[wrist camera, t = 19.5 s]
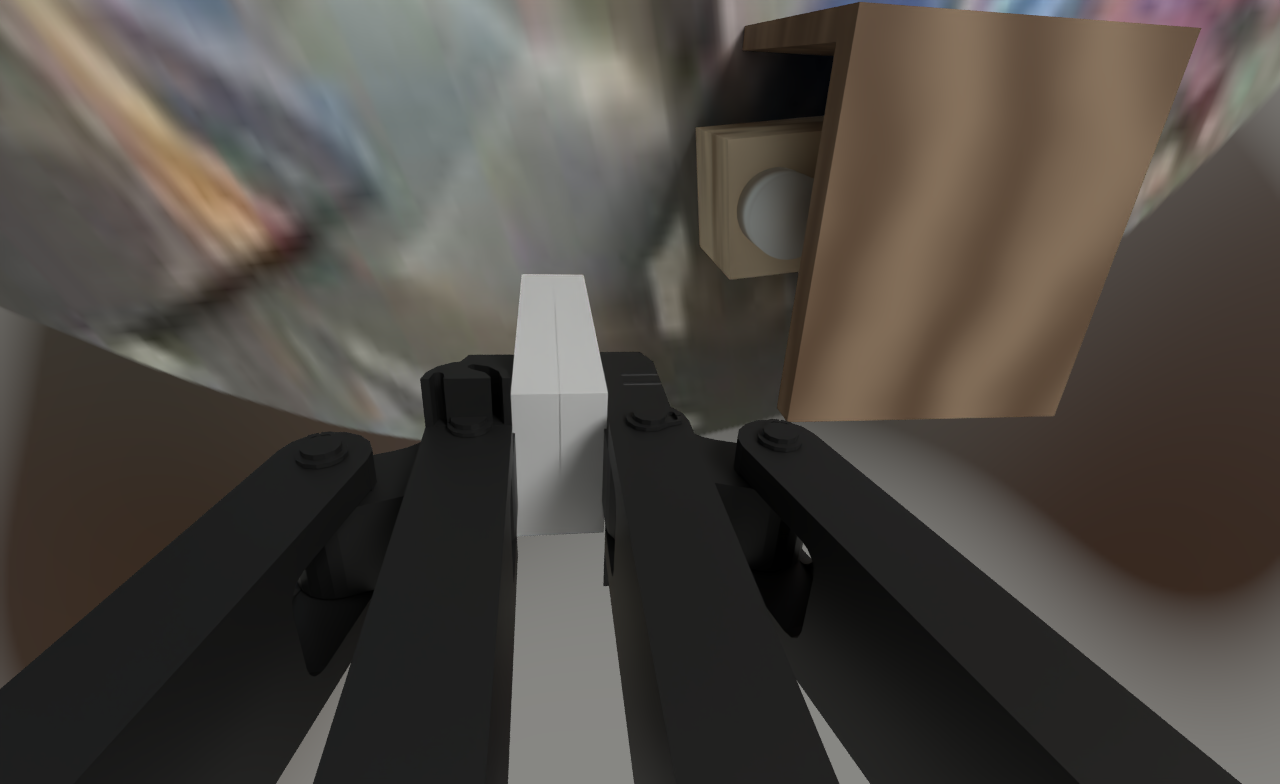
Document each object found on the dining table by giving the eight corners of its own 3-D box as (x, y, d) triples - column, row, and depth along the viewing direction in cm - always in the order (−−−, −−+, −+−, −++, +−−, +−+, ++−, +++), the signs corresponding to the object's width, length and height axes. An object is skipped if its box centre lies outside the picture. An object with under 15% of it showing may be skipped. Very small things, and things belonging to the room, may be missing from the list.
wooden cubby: (713, 317, 43) (787, 421, 30) (744, 26, 36) (859, 1, 23) (908, 317, 45) (1054, 415, 32) (976, 41, 38) (1201, 28, 25)
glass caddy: (699, 245, 41) (742, 294, 32) (695, 127, 38) (742, 145, 29) (850, 229, 42) (933, 272, 33) (858, 112, 39) (953, 124, 30)
